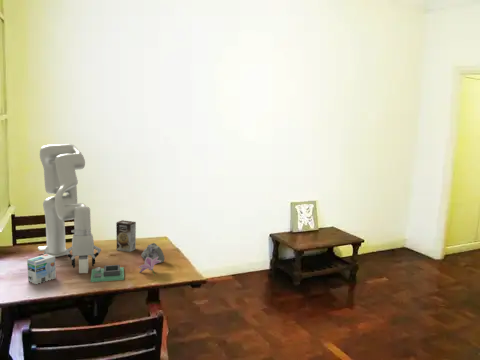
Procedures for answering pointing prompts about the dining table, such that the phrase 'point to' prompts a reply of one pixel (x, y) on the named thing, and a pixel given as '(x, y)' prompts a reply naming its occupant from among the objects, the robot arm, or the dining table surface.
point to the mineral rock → (153, 252)
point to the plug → (83, 264)
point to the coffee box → (126, 235)
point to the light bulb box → (41, 268)
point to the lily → (149, 264)
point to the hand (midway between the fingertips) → (83, 266)
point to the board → (107, 273)
